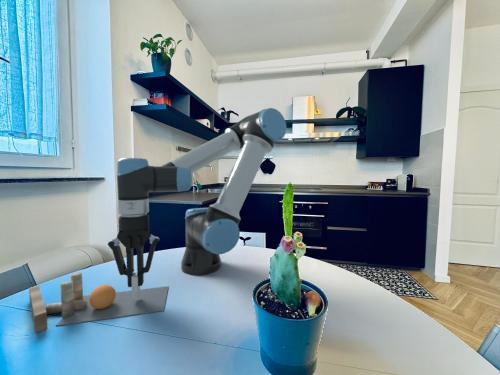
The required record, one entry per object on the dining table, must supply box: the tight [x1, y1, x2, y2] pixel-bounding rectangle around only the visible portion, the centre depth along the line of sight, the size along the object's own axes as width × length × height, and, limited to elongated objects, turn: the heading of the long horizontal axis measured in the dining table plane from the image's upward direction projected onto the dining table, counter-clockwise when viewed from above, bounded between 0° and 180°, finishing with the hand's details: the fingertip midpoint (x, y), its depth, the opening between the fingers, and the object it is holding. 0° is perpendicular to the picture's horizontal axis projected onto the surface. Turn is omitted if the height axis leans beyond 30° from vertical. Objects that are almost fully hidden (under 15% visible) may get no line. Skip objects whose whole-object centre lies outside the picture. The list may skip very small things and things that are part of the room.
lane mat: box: [55, 286, 169, 327], centre depth 62 cm, size 24×13×1 cm, turn 105°
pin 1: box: [60, 280, 74, 319], centre depth 57 cm, size 2×2×8 cm
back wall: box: [28, 285, 48, 333], centre depth 57 cm, size 18×2×4 cm, turn 47°
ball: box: [89, 284, 117, 309], centre depth 60 cm, size 6×6×6 cm
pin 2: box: [70, 272, 84, 301], centre depth 62 cm, size 2×2×8 cm
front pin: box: [45, 299, 87, 315], centre depth 59 cm, size 2×2×8 cm
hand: (136, 296), depth 63 cm, fingers closed
